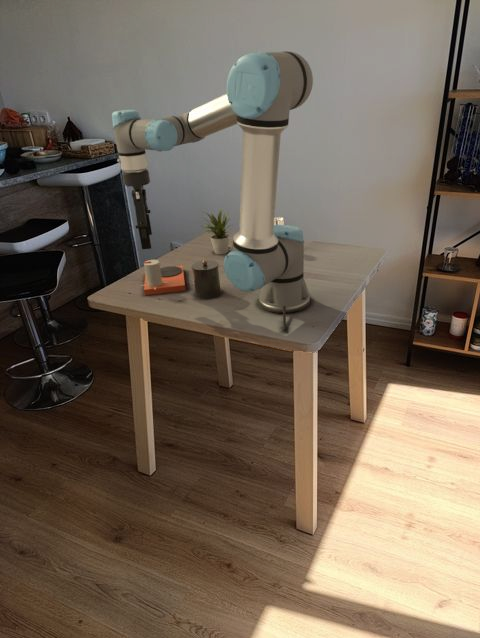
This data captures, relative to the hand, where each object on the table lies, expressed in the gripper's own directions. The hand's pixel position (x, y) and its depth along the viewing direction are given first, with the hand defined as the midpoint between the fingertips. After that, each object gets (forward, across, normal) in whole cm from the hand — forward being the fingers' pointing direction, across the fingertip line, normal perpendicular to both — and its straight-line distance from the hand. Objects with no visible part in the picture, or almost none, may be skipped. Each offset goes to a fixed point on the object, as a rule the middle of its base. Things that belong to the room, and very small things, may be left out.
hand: (147, 241), depth 149 cm
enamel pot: (+16, +8, +17) cm, 25 cm away
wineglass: (+16, -25, +47) cm, 55 cm away
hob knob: (+14, 0, 0) cm, 14 cm away
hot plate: (+16, -5, +3) cm, 17 cm away
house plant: (+17, -31, +25) cm, 43 cm away
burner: (+14, -9, +5) cm, 18 cm away
